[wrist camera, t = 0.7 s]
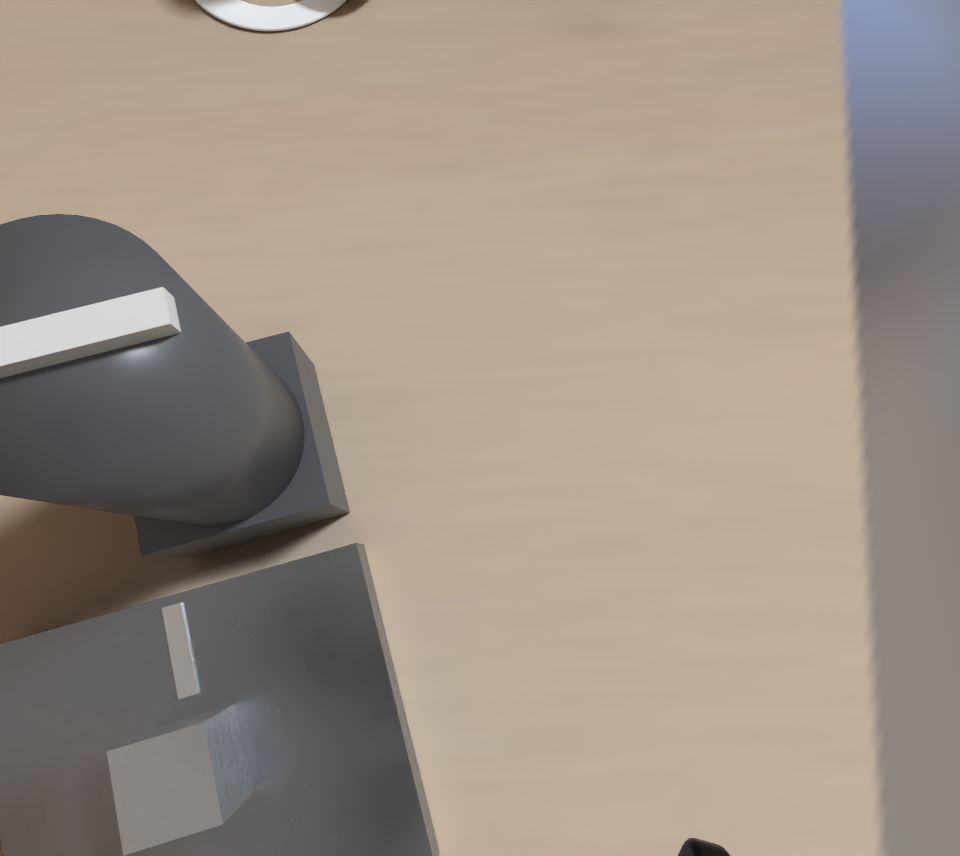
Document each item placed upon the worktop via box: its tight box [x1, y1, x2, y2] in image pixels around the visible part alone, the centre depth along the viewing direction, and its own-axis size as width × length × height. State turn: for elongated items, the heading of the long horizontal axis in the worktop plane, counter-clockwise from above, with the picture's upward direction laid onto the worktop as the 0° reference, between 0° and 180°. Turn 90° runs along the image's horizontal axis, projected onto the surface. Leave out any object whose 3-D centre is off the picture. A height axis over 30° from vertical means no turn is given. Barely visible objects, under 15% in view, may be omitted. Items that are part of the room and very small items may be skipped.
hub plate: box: [0, 543, 439, 856], centre depth 19 cm, size 12×10×4 cm
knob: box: [0, 214, 350, 557], centre depth 17 cm, size 6×6×12 cm
